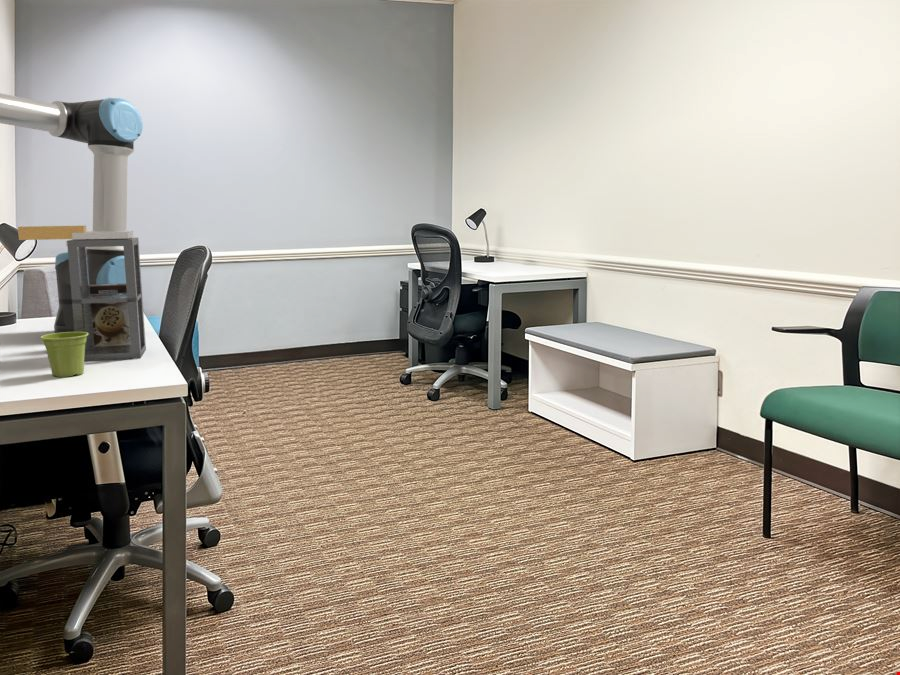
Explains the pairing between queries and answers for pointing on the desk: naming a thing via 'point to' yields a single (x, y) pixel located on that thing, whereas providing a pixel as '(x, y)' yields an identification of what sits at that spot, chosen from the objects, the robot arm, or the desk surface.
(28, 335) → the desk surface
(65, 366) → the plant pot
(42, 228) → the blanking panel
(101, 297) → the rack
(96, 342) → the coffee box
